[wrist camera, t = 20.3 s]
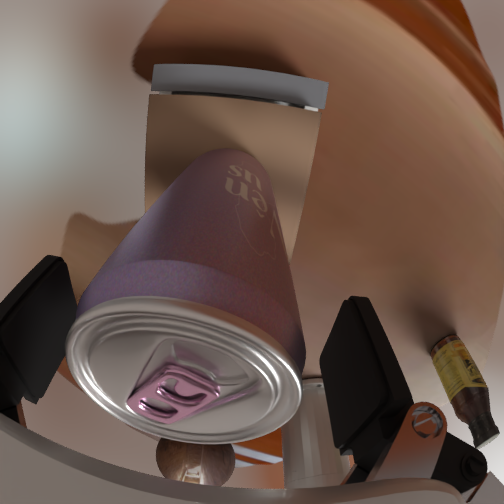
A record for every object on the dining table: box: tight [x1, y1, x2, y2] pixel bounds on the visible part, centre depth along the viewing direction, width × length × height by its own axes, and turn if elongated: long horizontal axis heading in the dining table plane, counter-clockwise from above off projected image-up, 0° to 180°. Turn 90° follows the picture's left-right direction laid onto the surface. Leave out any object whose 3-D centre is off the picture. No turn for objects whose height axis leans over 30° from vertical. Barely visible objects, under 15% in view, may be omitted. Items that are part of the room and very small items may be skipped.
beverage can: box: [65, 148, 306, 444], centre depth 12 cm, size 6×6×15 cm
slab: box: [145, 94, 322, 265], centre depth 21 cm, size 12×11×5 cm
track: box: [151, 64, 329, 111], centre depth 25 cm, size 28×12×5 cm, turn 172°
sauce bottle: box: [431, 335, 500, 449], centre depth 29 cm, size 7×6×20 cm
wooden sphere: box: [156, 437, 235, 486], centre depth 42 cm, size 15×15×15 cm
